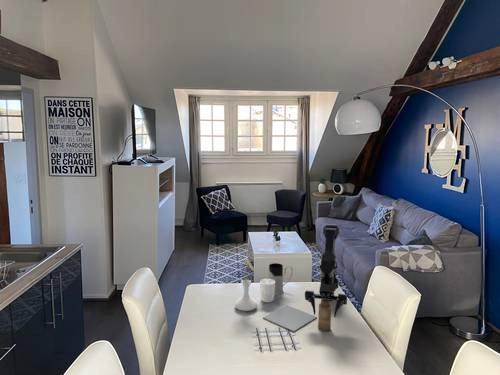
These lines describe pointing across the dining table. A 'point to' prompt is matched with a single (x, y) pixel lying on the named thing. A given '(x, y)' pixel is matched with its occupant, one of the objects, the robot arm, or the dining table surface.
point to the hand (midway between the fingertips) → (324, 316)
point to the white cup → (267, 290)
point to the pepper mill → (324, 316)
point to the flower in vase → (246, 294)
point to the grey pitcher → (278, 276)
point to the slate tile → (290, 318)
